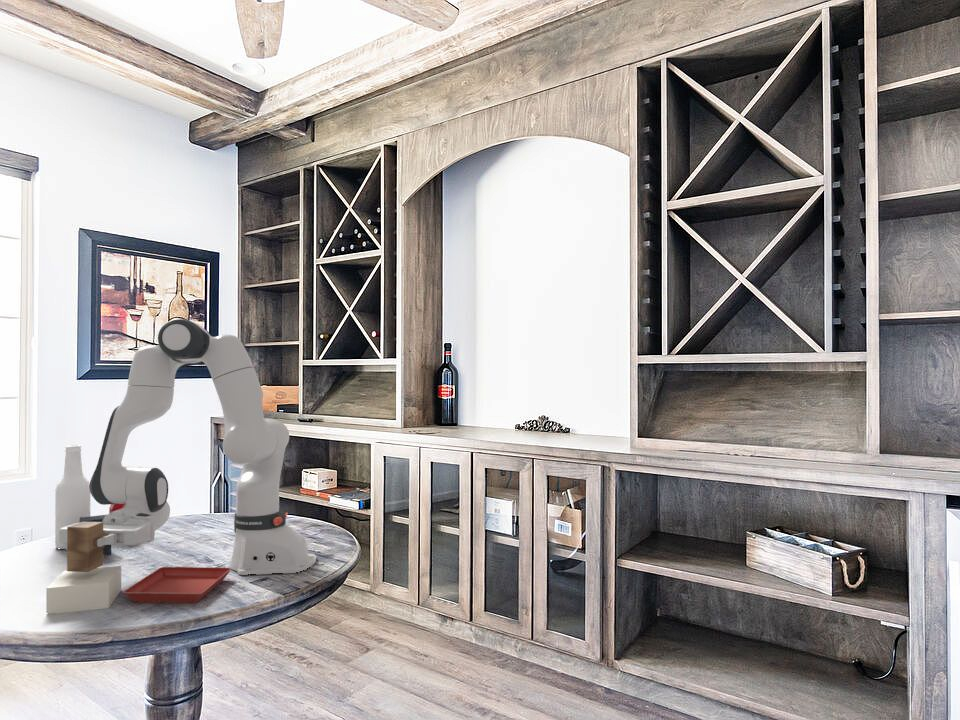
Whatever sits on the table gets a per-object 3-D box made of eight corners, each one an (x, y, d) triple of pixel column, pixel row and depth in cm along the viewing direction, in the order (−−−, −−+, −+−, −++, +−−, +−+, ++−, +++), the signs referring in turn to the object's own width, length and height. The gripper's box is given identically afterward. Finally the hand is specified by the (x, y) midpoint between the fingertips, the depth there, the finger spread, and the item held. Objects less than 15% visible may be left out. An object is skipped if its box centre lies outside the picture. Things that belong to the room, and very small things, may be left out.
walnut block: (103, 564, 148) (103, 522, 148) (88, 572, 143) (88, 527, 143) (82, 564, 148) (82, 521, 148) (67, 571, 143) (67, 527, 143)
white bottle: (60, 543, 192) (61, 444, 192) (93, 540, 195) (94, 443, 195) (50, 551, 184) (51, 448, 184) (85, 549, 186) (85, 446, 186)
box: (79, 559, 177) (79, 521, 177) (78, 554, 181) (79, 517, 181) (111, 554, 181) (112, 517, 181) (110, 549, 186) (110, 513, 186)
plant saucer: (232, 579, 161) (232, 566, 161) (201, 607, 143) (201, 592, 143) (161, 579, 161) (161, 566, 161) (121, 607, 143) (121, 592, 143)
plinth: (121, 590, 153) (121, 565, 153) (108, 609, 142) (108, 582, 142) (63, 596, 149) (64, 570, 149) (46, 615, 138) (46, 588, 138)
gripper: (82, 513, 159) (40, 528, 146) (160, 515, 158) (125, 530, 144) (82, 538, 159) (39, 555, 146) (160, 540, 158) (124, 557, 144)
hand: (82, 542), depth 145 cm, fingers closed on walnut block, 5 cm apart
